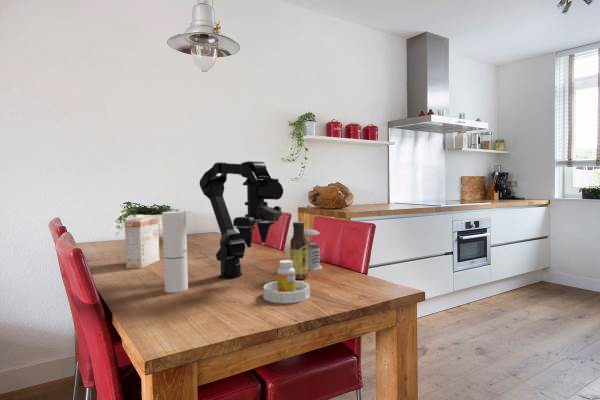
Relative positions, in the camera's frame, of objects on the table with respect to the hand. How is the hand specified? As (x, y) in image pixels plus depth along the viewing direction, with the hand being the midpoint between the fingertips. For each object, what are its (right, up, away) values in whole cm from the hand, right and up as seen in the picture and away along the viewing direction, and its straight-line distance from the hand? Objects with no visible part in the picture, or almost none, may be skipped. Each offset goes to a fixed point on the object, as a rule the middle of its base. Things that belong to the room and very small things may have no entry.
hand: (256, 245), depth 130 cm
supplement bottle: (+11, -13, -14) cm, 22 cm away
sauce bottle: (+14, -13, +7) cm, 20 cm away
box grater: (+18, -12, +22) cm, 31 cm away
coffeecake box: (-51, -12, +32) cm, 62 cm away
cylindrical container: (-25, -14, -6) cm, 29 cm away
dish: (+11, -14, -14) cm, 22 cm away
